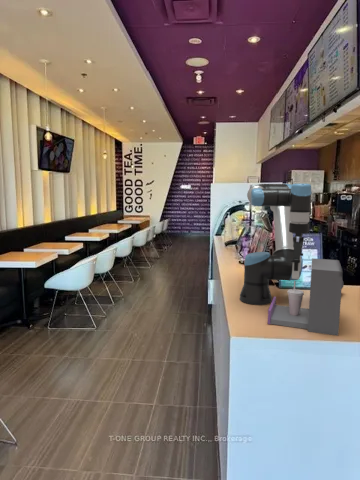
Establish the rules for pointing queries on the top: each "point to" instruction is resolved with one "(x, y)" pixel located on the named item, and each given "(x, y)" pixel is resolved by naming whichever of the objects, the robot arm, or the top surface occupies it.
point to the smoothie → (295, 300)
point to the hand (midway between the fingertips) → (296, 274)
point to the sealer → (325, 296)
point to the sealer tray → (287, 316)
